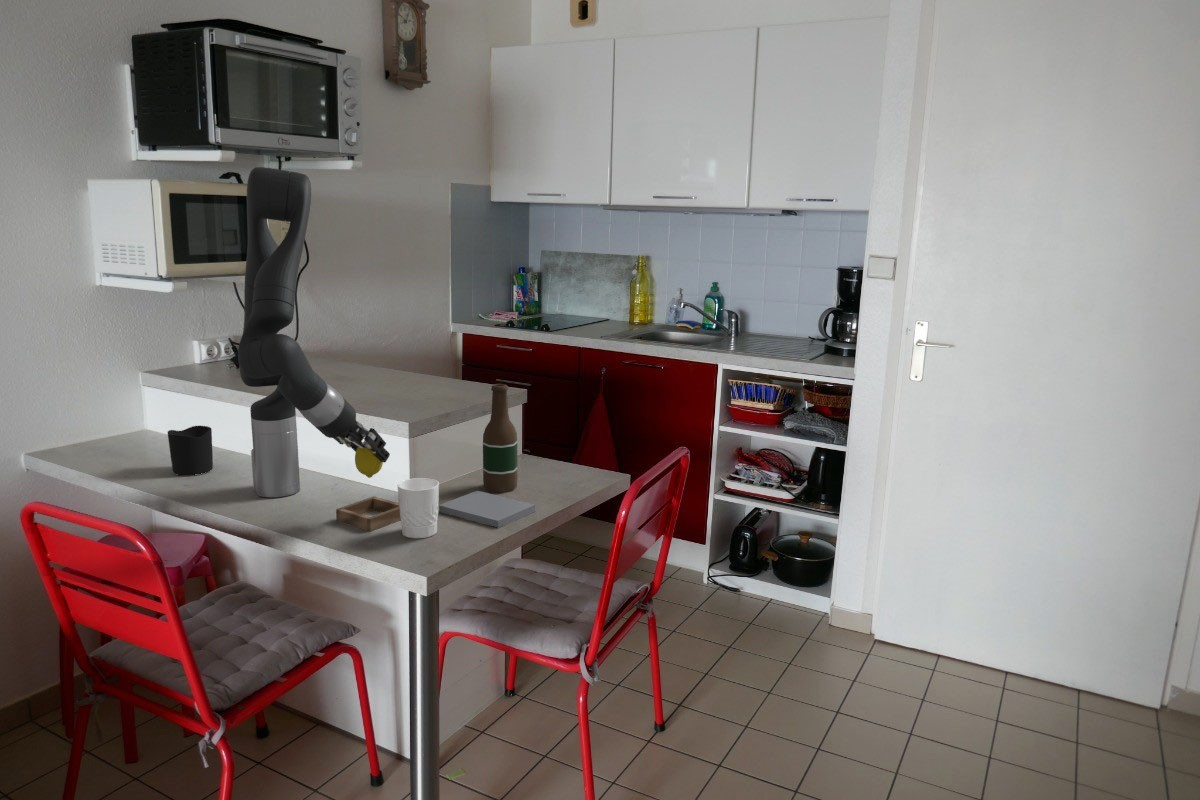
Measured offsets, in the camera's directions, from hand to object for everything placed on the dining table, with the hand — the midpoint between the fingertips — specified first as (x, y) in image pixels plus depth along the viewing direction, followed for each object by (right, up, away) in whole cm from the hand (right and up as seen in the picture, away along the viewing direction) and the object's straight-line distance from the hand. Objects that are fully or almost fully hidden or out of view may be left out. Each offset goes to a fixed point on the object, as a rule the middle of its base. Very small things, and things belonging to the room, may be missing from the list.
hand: (375, 455), depth 178 cm
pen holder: (-51, -6, +31) cm, 60 cm away
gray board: (+22, -12, +7) cm, 26 cm away
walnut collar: (-1, -13, +1) cm, 13 cm away
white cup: (+10, -15, -5) cm, 19 cm away
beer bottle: (+23, -9, +23) cm, 33 cm away
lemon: (-1, -5, 0) cm, 5 cm away
